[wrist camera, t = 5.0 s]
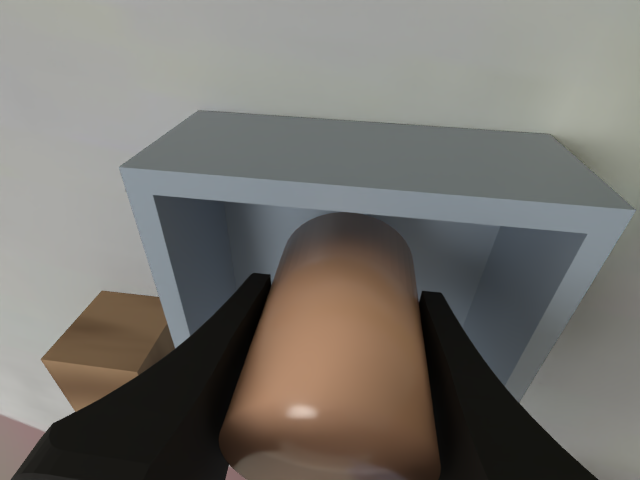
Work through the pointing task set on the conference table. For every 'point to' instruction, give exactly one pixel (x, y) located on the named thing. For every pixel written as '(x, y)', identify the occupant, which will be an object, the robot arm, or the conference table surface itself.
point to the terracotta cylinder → (336, 363)
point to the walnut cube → (108, 346)
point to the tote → (381, 218)
